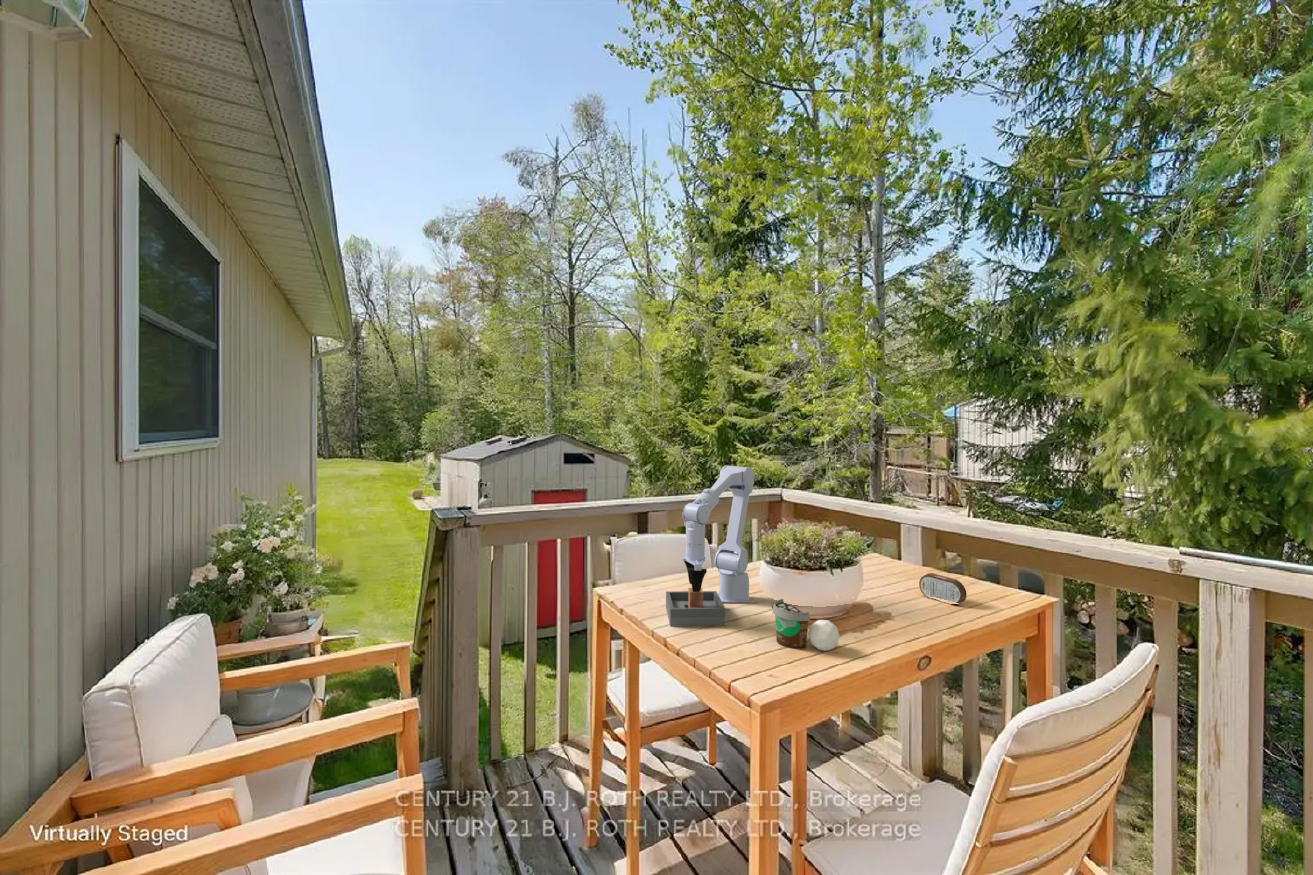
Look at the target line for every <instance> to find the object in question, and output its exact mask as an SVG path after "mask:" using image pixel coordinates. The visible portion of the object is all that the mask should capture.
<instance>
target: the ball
mask: <svg viewBox="0 0 1313 875" xmlns="http://www.w3.org/2000/svg"><path fill="white" fill-rule="evenodd" d="M807 636H808V638H809V640H810V642H809V643H810V644H811V645H813V647H815V648H816V649H817V650H819V651H825V652H826V651H827V652H828V651H830V650H833V649H834V648H835V647H837V645H838V643H839V641H840V633H839V630H838V628H837V626H836V625H835V624H834V623H833V622H832V621H830V620H828V619H827V620H826V619H817V620H816V621H815V622H813V623H811V624H810V627H809V630H808V632H807Z"/></svg>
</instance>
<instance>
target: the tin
mask: <svg viewBox="0 0 1313 875" xmlns="http://www.w3.org/2000/svg"><path fill="white" fill-rule="evenodd" d="M918 583H919V585H918V586H919V590H920V592H921V593H922V595H924V596H925V597H926V596H929V597H936V598H940V599H944V600H948V601H952V602H956V603H960V604H962V603H961V602H963V603H964V602H965V600H967V595H968V594H967V589H966V588H965V586H964V584H963V583H962V582H961V581H959V580H958V579H956V578H953V577H948V576H945V575H941V574H938V573H933V572H929V573H926V574H924V575H922V576H921V577H920V579H919V582H918Z"/></svg>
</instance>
